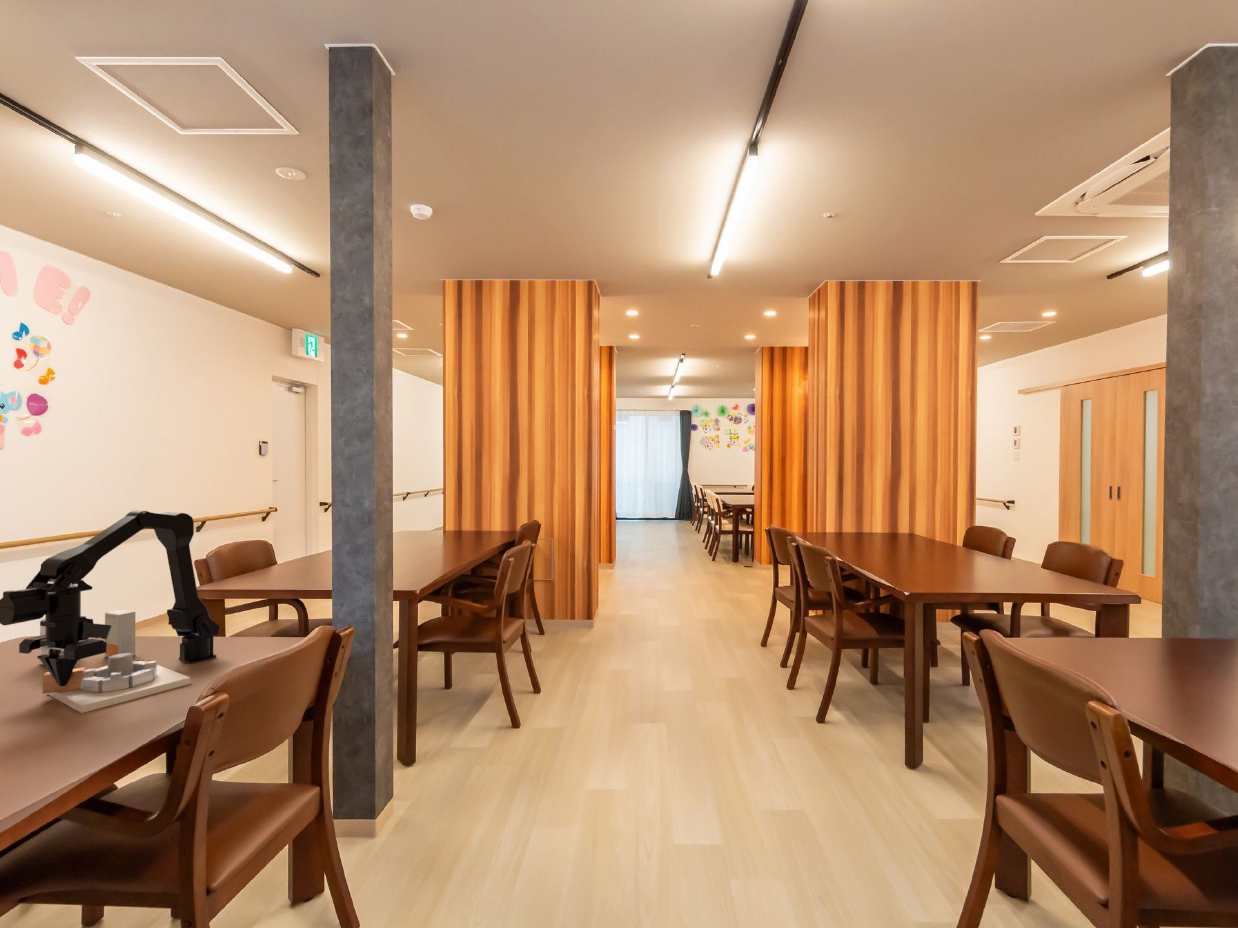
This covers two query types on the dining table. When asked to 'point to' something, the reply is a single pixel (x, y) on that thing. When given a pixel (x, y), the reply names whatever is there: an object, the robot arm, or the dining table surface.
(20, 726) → the dining table surface
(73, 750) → the dining table surface
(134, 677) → the toy block set
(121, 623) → the skincare box
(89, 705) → the base board
